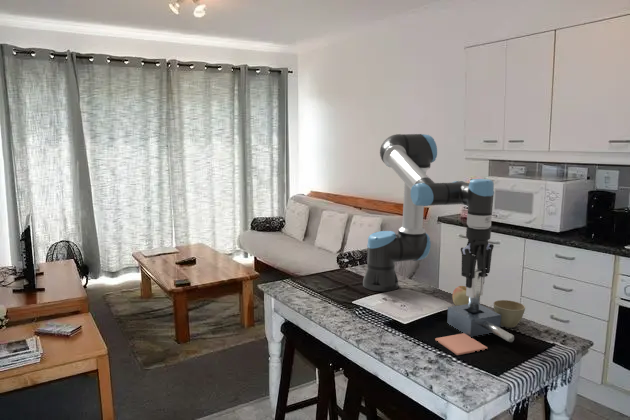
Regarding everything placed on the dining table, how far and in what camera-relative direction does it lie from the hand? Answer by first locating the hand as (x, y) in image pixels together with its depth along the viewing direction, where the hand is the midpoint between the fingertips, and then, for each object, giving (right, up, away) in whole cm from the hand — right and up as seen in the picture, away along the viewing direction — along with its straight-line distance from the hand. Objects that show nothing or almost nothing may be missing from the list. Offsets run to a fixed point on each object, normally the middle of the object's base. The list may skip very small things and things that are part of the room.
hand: (474, 295), depth 154 cm
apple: (+3, -9, +19) cm, 21 cm away
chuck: (+2, -12, -4) cm, 13 cm away
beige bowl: (+13, -11, +4) cm, 18 cm away
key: (0, -5, +1) cm, 5 cm away
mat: (-8, -13, -11) cm, 19 cm away
